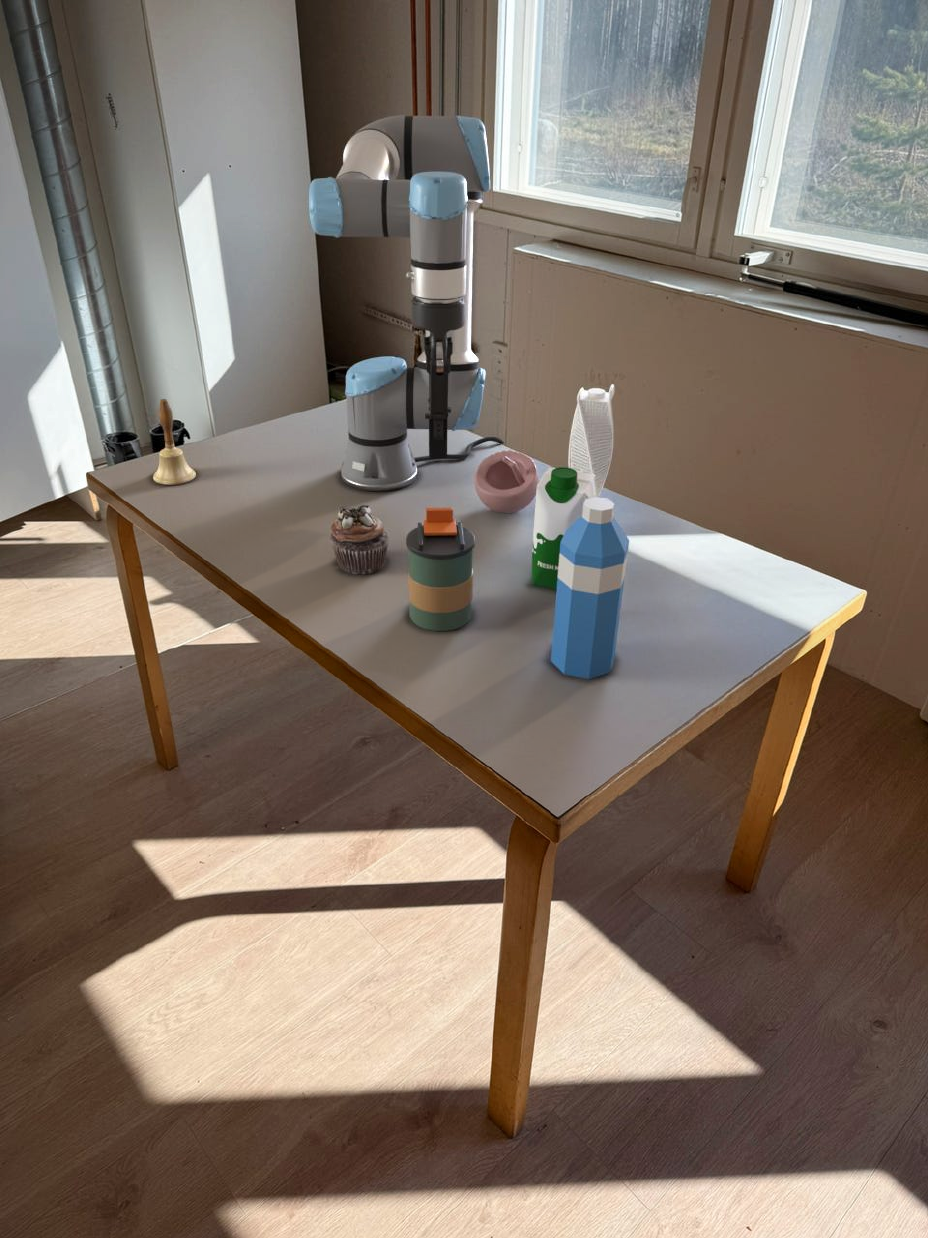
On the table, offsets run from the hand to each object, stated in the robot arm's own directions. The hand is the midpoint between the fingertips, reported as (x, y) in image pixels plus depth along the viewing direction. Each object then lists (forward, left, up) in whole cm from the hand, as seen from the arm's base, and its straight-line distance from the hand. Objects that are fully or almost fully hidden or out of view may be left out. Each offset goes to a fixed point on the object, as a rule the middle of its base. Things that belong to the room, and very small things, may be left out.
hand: (438, 457), depth 140 cm
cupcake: (+5, -14, -22) cm, 27 cm away
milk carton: (-16, +12, -22) cm, 30 cm away
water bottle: (-1, +30, -22) cm, 38 cm away
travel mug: (+6, +7, -22) cm, 24 cm away
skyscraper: (-32, +4, -22) cm, 39 cm away
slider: (+5, +6, -8) cm, 11 cm away
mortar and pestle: (-28, -12, -22) cm, 37 cm away
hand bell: (+11, -67, -22) cm, 71 cm away
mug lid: (+6, +7, -10) cm, 14 cm away
